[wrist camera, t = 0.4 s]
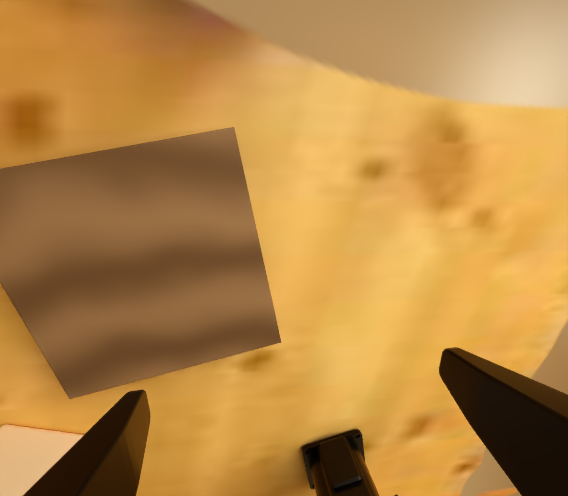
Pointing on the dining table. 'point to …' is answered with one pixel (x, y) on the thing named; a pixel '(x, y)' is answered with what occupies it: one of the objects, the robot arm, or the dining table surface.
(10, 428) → the medicine bottle
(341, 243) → the dining table surface
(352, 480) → the robot arm
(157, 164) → the walnut plinth
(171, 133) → the dining table surface
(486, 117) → the dining table surface
